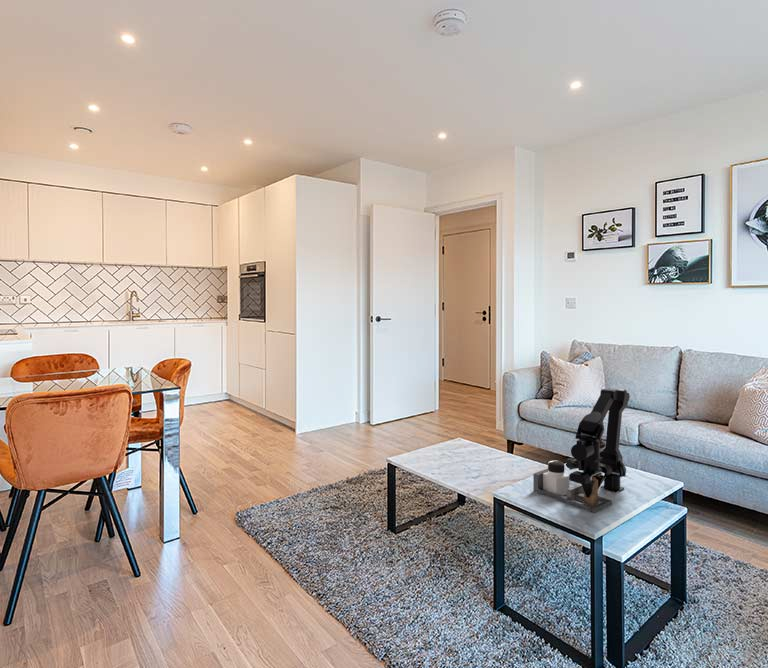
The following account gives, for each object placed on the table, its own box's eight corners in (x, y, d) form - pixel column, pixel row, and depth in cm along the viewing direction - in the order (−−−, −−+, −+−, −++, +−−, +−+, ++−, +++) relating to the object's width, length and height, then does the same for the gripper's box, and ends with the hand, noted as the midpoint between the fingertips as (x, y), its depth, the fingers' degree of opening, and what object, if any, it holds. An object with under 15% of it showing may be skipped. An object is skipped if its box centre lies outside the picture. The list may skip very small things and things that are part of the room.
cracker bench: (551, 484, 199) (551, 467, 198) (612, 504, 178) (612, 485, 178) (533, 491, 192) (533, 473, 191) (594, 513, 171) (594, 493, 171)
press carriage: (579, 495, 187) (580, 470, 186) (601, 502, 180) (601, 476, 179) (566, 500, 182) (566, 474, 181) (588, 508, 175) (588, 481, 174)
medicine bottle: (569, 493, 189) (570, 463, 188) (555, 497, 186) (556, 466, 185) (556, 487, 195) (556, 458, 194) (542, 490, 192) (542, 460, 191)
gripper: (585, 444, 189) (584, 484, 190) (556, 453, 178) (556, 495, 179) (612, 451, 181) (612, 492, 181) (584, 461, 169) (584, 505, 170)
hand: (590, 496), depth 178 cm, fingers closed on press carriage, 3 cm apart
